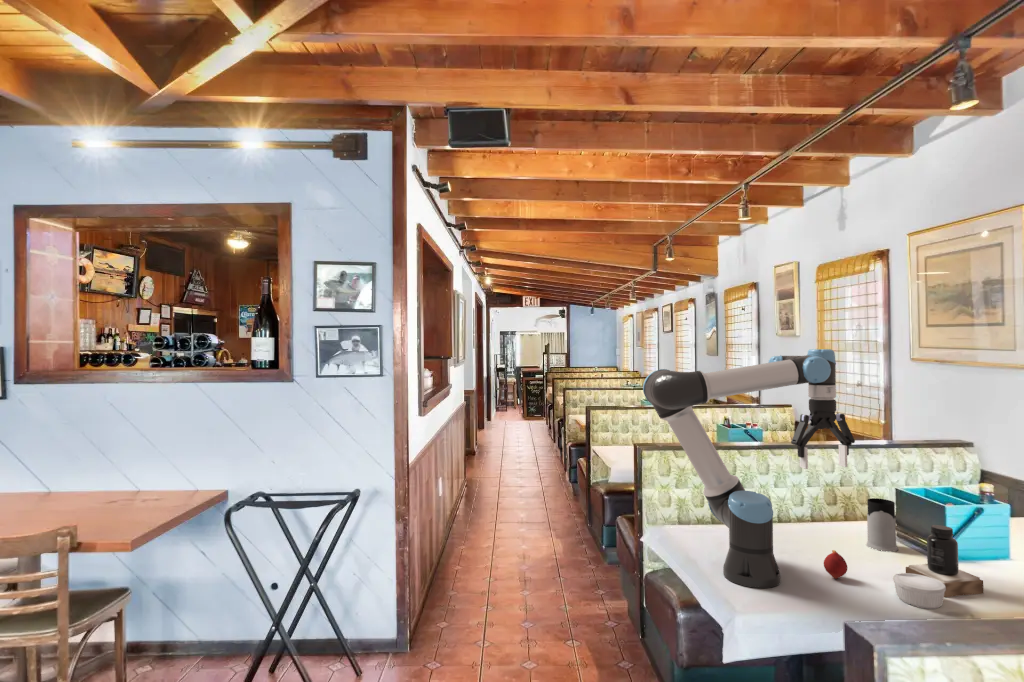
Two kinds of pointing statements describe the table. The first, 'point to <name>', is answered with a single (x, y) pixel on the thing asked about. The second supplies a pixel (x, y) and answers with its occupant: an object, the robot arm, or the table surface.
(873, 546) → the glass holder
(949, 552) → the supplement bottle
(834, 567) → the onion
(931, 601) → the ramekin
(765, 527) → the robot arm
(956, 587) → the plinth
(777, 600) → the table surface
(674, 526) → the table surface
